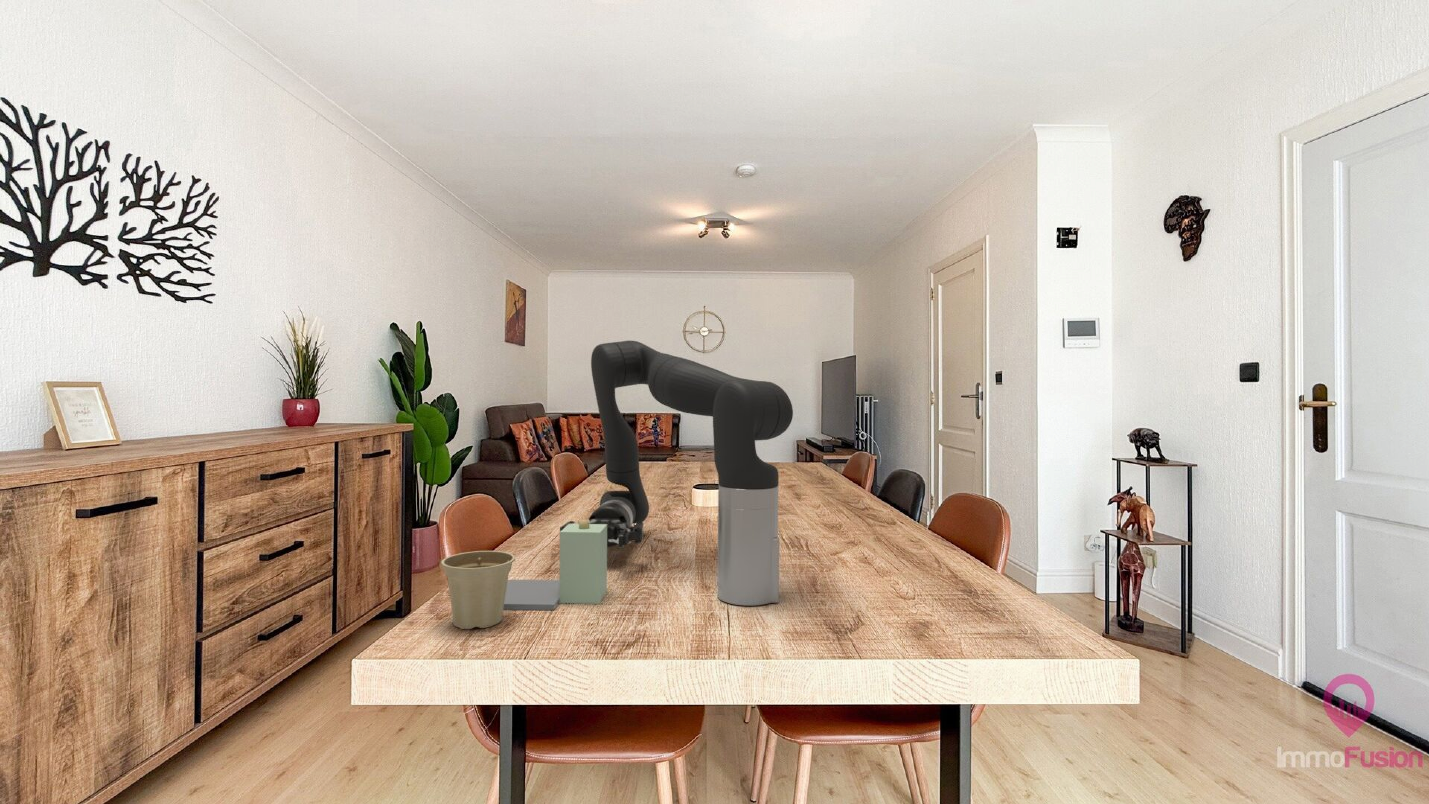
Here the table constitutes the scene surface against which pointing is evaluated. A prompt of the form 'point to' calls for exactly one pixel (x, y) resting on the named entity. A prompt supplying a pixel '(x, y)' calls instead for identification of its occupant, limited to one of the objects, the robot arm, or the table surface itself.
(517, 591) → the slate coaster
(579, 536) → the sage green tall block
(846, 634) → the table surface
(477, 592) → the flower pot
